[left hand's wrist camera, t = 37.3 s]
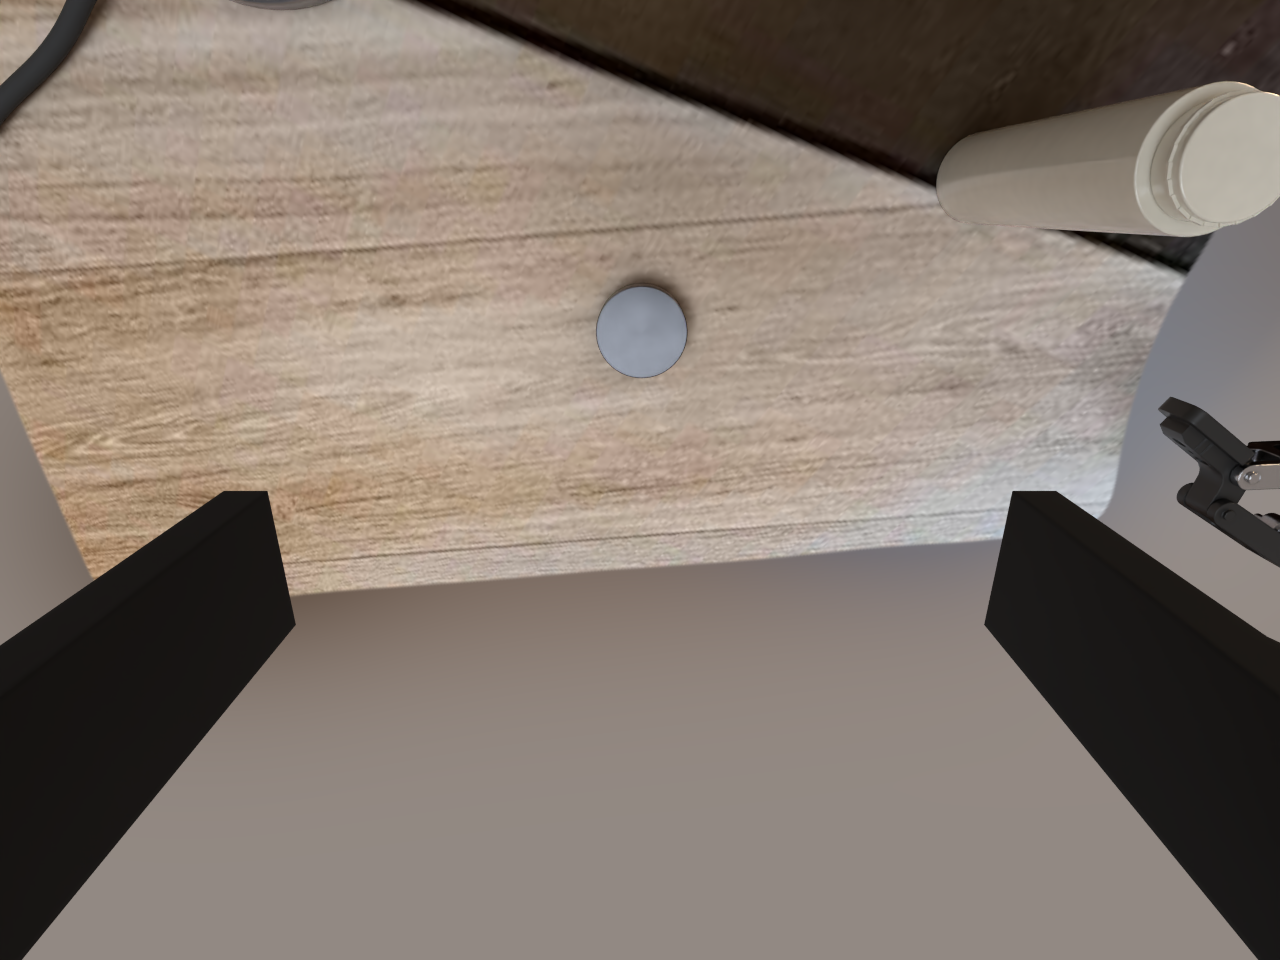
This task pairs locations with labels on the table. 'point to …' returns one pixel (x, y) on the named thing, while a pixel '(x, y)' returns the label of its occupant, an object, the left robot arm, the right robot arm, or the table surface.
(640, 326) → the lid
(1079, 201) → the beige cylinder
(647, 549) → the table surface
